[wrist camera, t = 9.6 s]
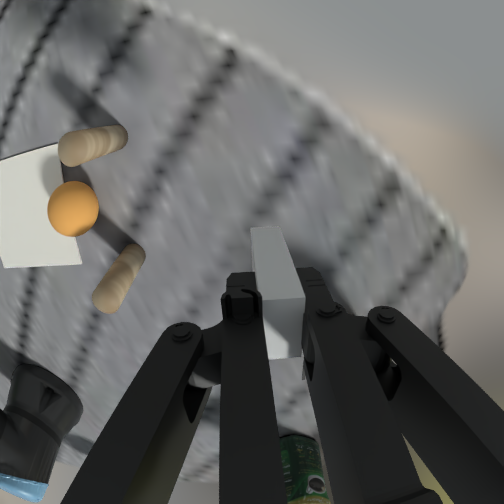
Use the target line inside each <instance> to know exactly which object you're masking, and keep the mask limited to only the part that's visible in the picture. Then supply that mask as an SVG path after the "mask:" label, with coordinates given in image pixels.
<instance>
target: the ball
mask: <svg viewBox="0 0 504 504" xmlns="http://www.w3.org/2000/svg"><path fill="white" fill-rule="evenodd" d="M98 211H99V204H98V199H97V197H96V195H95V193H94V191H93V190H92V189H91V188H90V187H89V186H88V185H86V184H85V183H82V182H79V181H69V182H66V183H63V184H61V185H60V186H59V187H57V188H56V189H55V190H54V192H53V193H52V195H51V196H50V199H49V201H48V207H47V214H48V219H49V221H50V223H51V225H52V227H53V228H54V229H55V230H56V231H57V232H58V233H60V234H62V235H64V236H68V237H76V236H80V235H82V234H84V233H86V232H87V231H88V230H89V229H90V228H91V227H92V226H93V225H94V223H95V221H96V219H97V216H98Z"/></svg>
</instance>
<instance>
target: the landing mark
mask: <svg viewBox="0 0 504 504" xmlns="http://www.w3.org/2000/svg"><path fill="white" fill-rule="evenodd" d="M63 183H64V180H63V174H62V167H61V160H60V158H59V156H58V144H54V145H51V146H47V147H43V148H40V149H36V150H33V151H30V152H26V153H23V154H20V155H17V156H14V157H11V158H8V159H5V160H2V161H0V256H1V259H2V262H3V265H4V268H18V267H37V266H56V265H75V264H82V260H81V257H80V253H79V249H78V245H77V241H76V237H68V236H64V235H62V234H60V233H58V232H57V231H56V230H55V229H54V228H53V227H52V225H51V223H50V221H49V219H48V214H47V207H48V201H49V199H50V196H51V195H52V193H53V192H54V190H55V189H56V188H57V187H59V186H60V185H61V184H63Z"/></svg>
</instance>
